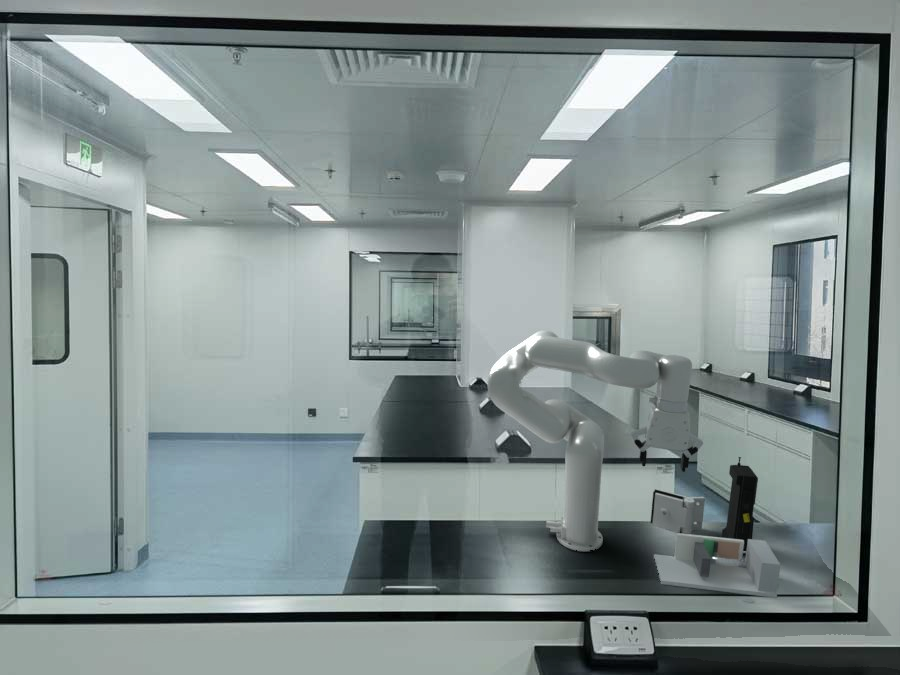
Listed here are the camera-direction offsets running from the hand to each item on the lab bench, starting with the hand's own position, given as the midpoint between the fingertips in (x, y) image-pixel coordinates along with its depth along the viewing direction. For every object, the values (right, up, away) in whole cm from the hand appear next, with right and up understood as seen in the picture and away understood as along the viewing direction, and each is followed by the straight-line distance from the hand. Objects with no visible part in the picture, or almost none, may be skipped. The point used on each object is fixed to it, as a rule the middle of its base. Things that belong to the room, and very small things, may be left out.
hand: (662, 466), depth 143 cm
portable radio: (+23, -24, +7) cm, 34 cm away
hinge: (+11, -22, +17) cm, 30 cm away
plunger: (+12, -24, -6) cm, 28 cm away
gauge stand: (+10, -26, -5) cm, 29 cm away
